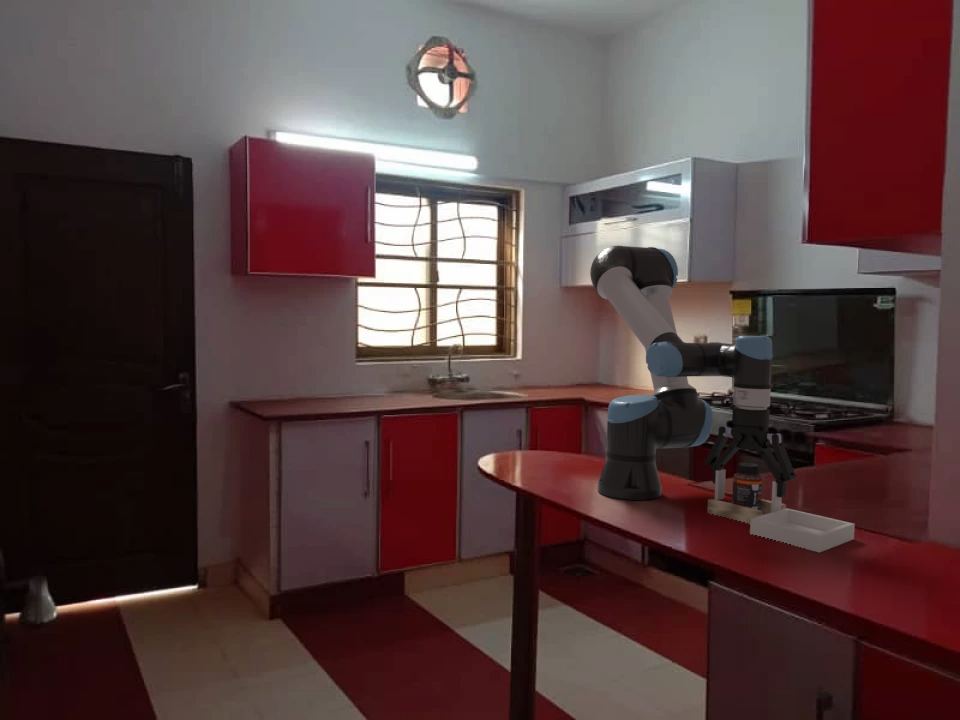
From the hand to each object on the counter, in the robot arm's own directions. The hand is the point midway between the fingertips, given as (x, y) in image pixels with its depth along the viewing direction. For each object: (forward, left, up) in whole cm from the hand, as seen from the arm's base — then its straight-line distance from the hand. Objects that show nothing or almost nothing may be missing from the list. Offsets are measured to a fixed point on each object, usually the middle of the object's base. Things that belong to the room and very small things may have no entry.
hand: (746, 505), depth 161 cm
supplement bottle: (0, 0, -3) cm, 3 cm away
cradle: (0, 0, -2) cm, 2 cm away
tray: (+15, -5, -2) cm, 16 cm away
